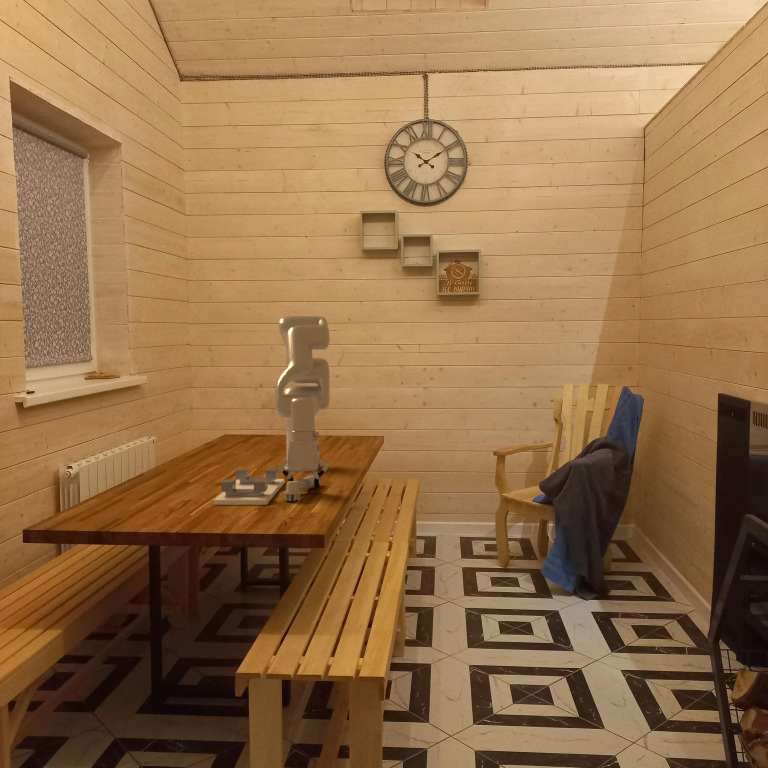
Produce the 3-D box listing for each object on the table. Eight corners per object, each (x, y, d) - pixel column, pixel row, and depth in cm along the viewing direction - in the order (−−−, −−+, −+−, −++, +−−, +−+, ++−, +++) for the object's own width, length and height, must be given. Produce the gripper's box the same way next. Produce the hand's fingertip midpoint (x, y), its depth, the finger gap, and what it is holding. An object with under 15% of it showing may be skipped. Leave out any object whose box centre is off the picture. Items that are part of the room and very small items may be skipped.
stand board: (238, 483, 235) (238, 478, 235) (284, 483, 235) (284, 478, 235) (213, 504, 205) (213, 499, 205) (266, 504, 205) (266, 499, 205)
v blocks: (238, 481, 231) (238, 468, 231) (278, 481, 231) (278, 468, 230) (221, 496, 209) (221, 482, 209) (265, 496, 209) (264, 482, 208)
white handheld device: (323, 474, 231) (297, 479, 207) (322, 494, 231) (296, 501, 207) (308, 473, 232) (281, 478, 208) (308, 493, 232) (280, 500, 208)
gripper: (331, 434, 222) (332, 488, 223) (278, 434, 222) (279, 488, 223) (328, 437, 214) (329, 493, 215) (273, 437, 215) (274, 493, 216)
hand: (303, 490), depth 219 cm, fingers open, 7 cm apart
